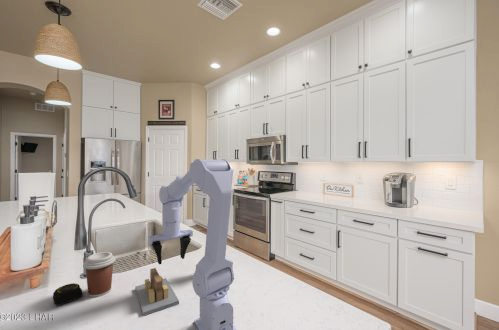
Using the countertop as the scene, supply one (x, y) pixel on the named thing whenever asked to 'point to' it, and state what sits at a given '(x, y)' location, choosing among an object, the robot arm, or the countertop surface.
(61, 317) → the countertop surface
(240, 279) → the countertop surface
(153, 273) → the door panel
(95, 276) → the coffee cup
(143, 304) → the hinge board
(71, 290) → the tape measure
